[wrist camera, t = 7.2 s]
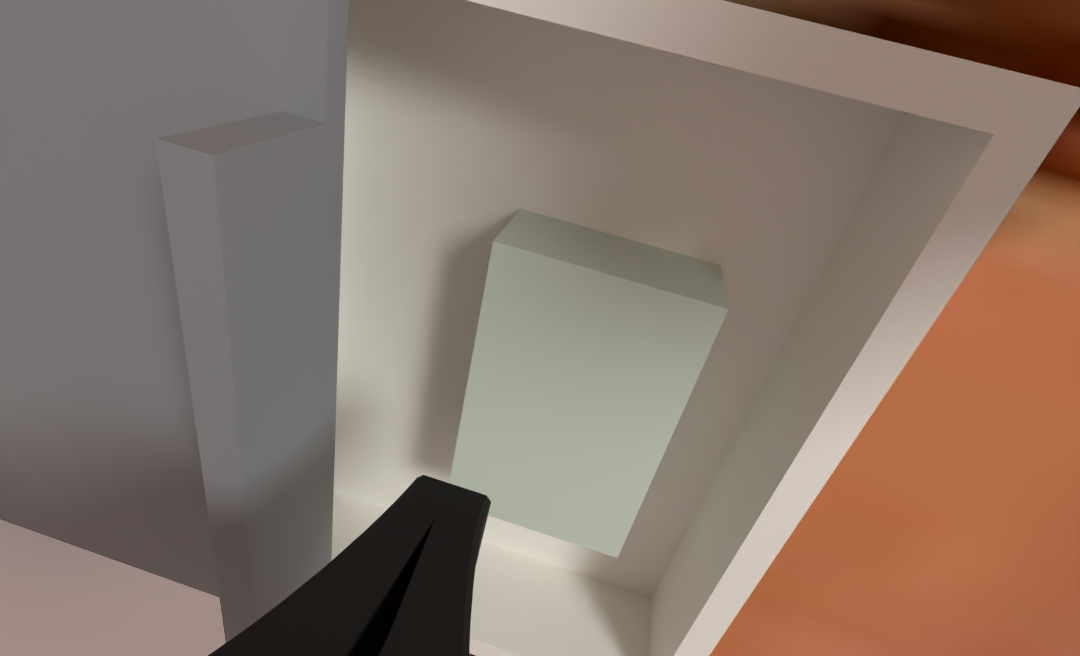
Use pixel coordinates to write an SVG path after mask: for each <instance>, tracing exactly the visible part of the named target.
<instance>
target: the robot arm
mask: <svg viewBox="0 0 1080 656" xmlns="http://www.w3.org/2000/svg"><path fill="white" fill-rule="evenodd" d="M490 505H491V501H490V499H489V498H488V497H487V495H484V494H481V493H478V492H475V491H472V490H469V489H466V488H462V487H459V486H456V485H453V484H450V483H447V482H444V481H441V480H438V479H435V478H432V477H429V476H426V475H422V476H419V477H417V478H416V479H415V480H414V482H413V483H412V484H411V485H410V486H409V487H408V488H407V489H406V490H405V491H404V493H403V494H402V495H401V496H400V497H399V498H398V499H397V500H396V501H395V502H394V503H393V504H392V505H391V506H390V507H389V508H388V509H387V510H386V511H385V512H384V513H383V514H382V515H381V516H380V517H379V518H378V519H377V520H376V521H375V522H374V523H373V524H372V525H371V526H369V527H368V528H367V529H366V530H365V531H364V532H363V533H362V534H361V535H360V536H359V537H358V538H356V539H355V540H354V541H353V542H352V543H351V544H350V545H349V546H347V547H346V548H345V549H344V550H343V551H342V552H341V553H340V554H339V555H337V556H336V557H335V558H334V559H333V560H332V561H331V562H330V563H328V564H327V565H326V566H325V567H324V568H323V569H321V570H320V571H319V572H318V573H316V574H315V575H314V576H313V577H311V578H310V579H309V580H308V581H307V582H305V583H304V584H303V585H302V586H300V587H299V588H298V589H297V590H296V591H294V592H293V593H292V594H291V595H289V596H288V597H287V598H286V599H284V600H283V601H282V602H281V603H279V604H278V605H277V606H276V607H274V608H273V609H272V610H270V611H269V612H268V613H266V614H265V615H264V616H262V617H261V618H260V619H259V620H257V621H256V622H254V623H253V624H252V625H250V626H249V627H248V628H246V629H245V630H244V631H242V632H241V633H239V634H238V635H237V636H235V637H234V638H232V639H231V640H230V641H228V642H227V643H225V644H224V645H223V646H221V647H220V648H219V649H217V650H216V651H214V652H213V653H211V654H210V655H208V656H469V647H470V624H471V610H472V597H473V585H474V576H475V567H476V563H477V559H478V555H479V551H480V547H481V542H482V538H483V534H484V530H485V526H486V521H487V517H488V513H489V509H490Z"/></svg>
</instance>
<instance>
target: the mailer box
mask: <svg viewBox="0 0 1080 656" xmlns="http://www.w3.org/2000/svg"><path fill="white" fill-rule="evenodd" d="M1079 107H1080V87H1075V86H1071V85H1067V84H1063V83H1059V82H1055V81H1051V80H1047V79H1043V78H1039V77H1035V76H1030V75H1026V74H1022V73H1018V72H1014V71H1010V70H1006V69H1002V68H998V67H994V66H990V65H986V64H981V63H977V62H973V61H969V60H965V59H961V58H957V57H953V56H949V55H945V54H941V53H936V52H932V51H928V50H924V49H920V48H916V47H912V46H908V45H904V44H900V43H896V42H892V41H887V40H883V39H879V38H875V37H871V36H867V35H863V34H859V33H855V32H851V31H847V30H842V29H838V28H834V27H830V26H826V25H822V24H818V23H814V22H810V21H806V20H802V19H797V18H793V17H789V16H785V15H781V14H777V13H773V12H769V11H765V10H761V9H757V8H753V7H748V6H744V5H740V4H736V3H732V2H728V1H724V0H349V4H348V36H347V69H346V102H345V134H344V167H343V199H342V232H341V265H340V297H339V330H338V362H337V395H336V428H335V460H334V493H333V525H332V558H331V561H332V560H333V559H334V558H335V557H336V556H337V555H339V554H340V553H341V552H342V551H343V550H344V549H345V548H346V547H347V546H349V545H350V544H351V543H352V542H353V541H354V540H355V539H356V538H358V537H359V536H360V535H361V534H362V533H363V532H364V531H365V530H366V529H367V528H368V527H369V526H371V525H372V524H373V523H374V522H375V521H376V520H377V519H378V518H379V517H380V516H381V515H382V514H383V513H384V512H385V511H386V510H387V509H388V508H389V507H390V506H391V505H392V504H393V503H394V502H395V501H396V500H397V499H398V498H399V497H400V496H401V495H402V494H403V493H404V491H405V490H406V489H407V488H408V487H409V486H410V485H411V484H412V483H413V482H414V480H415V479H416V478H417V477H419V476H422V475H426V476H429V477H432V478H435V479H438V480H441V481H444V482H447V483H450V484H453V485H456V486H459V487H462V488H466V489H469V490H472V491H475V492H478V493H481V494H484V495H487V497H488V498H489V499H490V501H491V505H490V509H489V513H488V517H487V521H486V526H485V530H484V534H483V538H482V542H481V547H480V551H479V555H478V559H477V563H476V567H475V576H474V585H473V597H472V610H471V624H470V647H469V653H470V654H473V655H476V656H709V655H710V654H711V652H712V651H713V649H714V648H715V646H716V645H717V643H718V642H719V640H720V639H721V637H722V636H723V634H724V633H725V631H726V630H727V628H728V627H729V625H730V624H731V622H732V621H733V619H734V618H735V617H736V615H737V614H738V612H739V611H740V609H741V608H742V606H743V605H744V603H745V602H746V600H747V599H748V597H749V596H750V594H751V593H752V591H753V590H754V588H755V587H756V585H757V584H758V582H759V581H760V579H761V578H762V576H763V575H764V574H765V572H766V571H767V569H768V568H769V566H770V565H771V563H772V562H773V560H774V559H775V557H776V556H777V554H778V553H779V551H780V550H781V548H782V547H783V545H784V544H785V542H786V541H787V539H788V538H789V536H790V535H791V534H792V532H793V531H794V529H795V528H796V526H797V525H798V523H799V522H800V520H801V519H802V517H803V516H804V514H805V513H806V511H807V510H808V508H809V507H810V505H811V504H812V502H813V501H814V499H815V498H816V496H817V495H818V494H819V492H820V491H821V489H822V488H823V486H824V485H825V483H826V482H827V480H828V479H829V477H830V476H831V474H832V473H833V471H834V470H835V468H836V467H837V465H838V464H839V462H840V461H841V459H842V458H843V456H844V455H845V454H846V452H847V451H848V449H849V448H850V446H851V445H852V443H853V442H854V440H855V439H856V437H857V436H858V434H859V433H860V431H861V430H862V428H863V427H864V425H865V424H866V422H867V421H868V419H869V418H870V416H871V415H872V414H873V412H874V411H875V409H876V408H877V406H878V405H879V403H880V402H881V400H882V399H883V397H884V396H885V394H886V393H887V391H888V390H889V388H890V387H891V385H892V384H893V382H894V381H895V379H896V378H897V376H898V375H899V374H900V372H901V371H902V369H903V368H904V366H905V365H906V363H907V362H908V360H909V359H910V357H911V356H912V354H913V353H914V351H915V350H916V348H917V347H918V345H919V344H920V342H921V341H922V339H923V338H924V336H925V335H926V334H927V332H928V331H929V329H930V328H931V326H932V325H933V323H934V322H935V320H936V319H937V317H938V316H939V314H940V313H941V311H942V310H943V308H944V307H945V305H946V304H947V302H948V301H949V299H950V298H951V296H952V295H953V293H954V292H955V291H956V289H957V288H958V286H959V285H960V283H961V282H962V280H963V279H964V277H965V276H966V274H967V273H968V271H969V270H970V268H971V267H972V265H973V264H974V262H975V261H976V259H977V258H978V256H979V255H980V253H981V252H982V251H983V249H984V248H985V246H986V245H987V243H988V242H989V240H990V239H991V237H992V236H993V234H994V233H995V231H996V230H997V228H998V227H999V225H1000V224H1001V222H1002V221H1003V219H1004V218H1005V216H1006V215H1007V213H1008V212H1009V211H1010V209H1011V208H1012V206H1013V205H1014V203H1015V202H1016V200H1017V199H1018V197H1019V196H1020V194H1021V193H1022V191H1023V190H1024V188H1025V187H1026V185H1027V184H1028V182H1029V181H1030V179H1031V178H1032V176H1033V175H1034V173H1035V172H1036V171H1037V169H1038V168H1039V166H1040V165H1041V163H1042V162H1043V160H1044V159H1045V157H1046V156H1047V154H1048V153H1049V151H1050V150H1051V148H1052V147H1053V145H1054V144H1055V142H1056V141H1057V139H1058V138H1059V136H1060V135H1061V133H1062V132H1063V131H1064V129H1065V128H1066V126H1067V125H1068V123H1069V122H1070V120H1071V119H1072V117H1073V116H1074V114H1075V113H1076V111H1077V110H1078V108H1079Z"/></svg>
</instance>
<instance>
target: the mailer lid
mask: <svg viewBox="0 0 1080 656" xmlns="http://www.w3.org/2000/svg"><path fill="white" fill-rule="evenodd" d="M348 4H349V0H0V519H2V520H4V521H7V522H10V523H13V524H16V525H18V526H21V527H24V528H27V529H30V530H32V531H35V532H38V533H41V534H44V535H47V536H49V537H52V538H55V539H58V540H61V541H63V542H66V543H69V544H72V545H74V546H77V547H80V548H83V549H86V550H88V551H91V552H94V553H97V554H100V555H103V556H105V557H108V558H111V559H114V560H117V561H119V562H122V563H125V564H128V565H131V566H133V567H136V568H139V569H142V570H145V571H147V572H150V573H153V574H156V575H159V576H162V577H165V578H167V579H170V580H173V581H176V582H178V583H182V584H184V585H187V586H190V587H192V588H195V589H198V590H201V591H203V592H206V593H209V594H212V595H215V596H218V597H220V603H221V611H222V618H223V625H224V632H225V639H226V643H227V642H228V641H230V640H231V639H232V638H234V637H235V636H237V635H238V634H239V633H241V632H242V631H244V630H245V629H246V628H248V627H249V626H250V625H252V624H253V623H254V622H256V621H257V620H259V619H260V618H261V617H262V616H264V615H265V614H266V613H268V612H269V611H270V610H272V609H273V608H274V607H276V606H277V605H278V604H279V603H281V602H282V601H283V600H284V599H286V598H287V597H288V596H289V595H291V594H292V593H293V592H294V591H296V590H297V589H298V588H299V587H300V586H302V585H303V584H304V583H305V582H307V581H308V580H309V579H310V578H311V577H313V576H314V575H315V574H316V573H318V572H319V571H320V570H321V569H323V568H324V567H325V566H326V565H327V564H328V563H330V562H331V558H332V525H333V493H334V460H335V428H336V395H337V362H338V330H339V297H340V265H341V232H342V199H343V167H344V134H345V102H346V69H347V36H348Z"/></svg>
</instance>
